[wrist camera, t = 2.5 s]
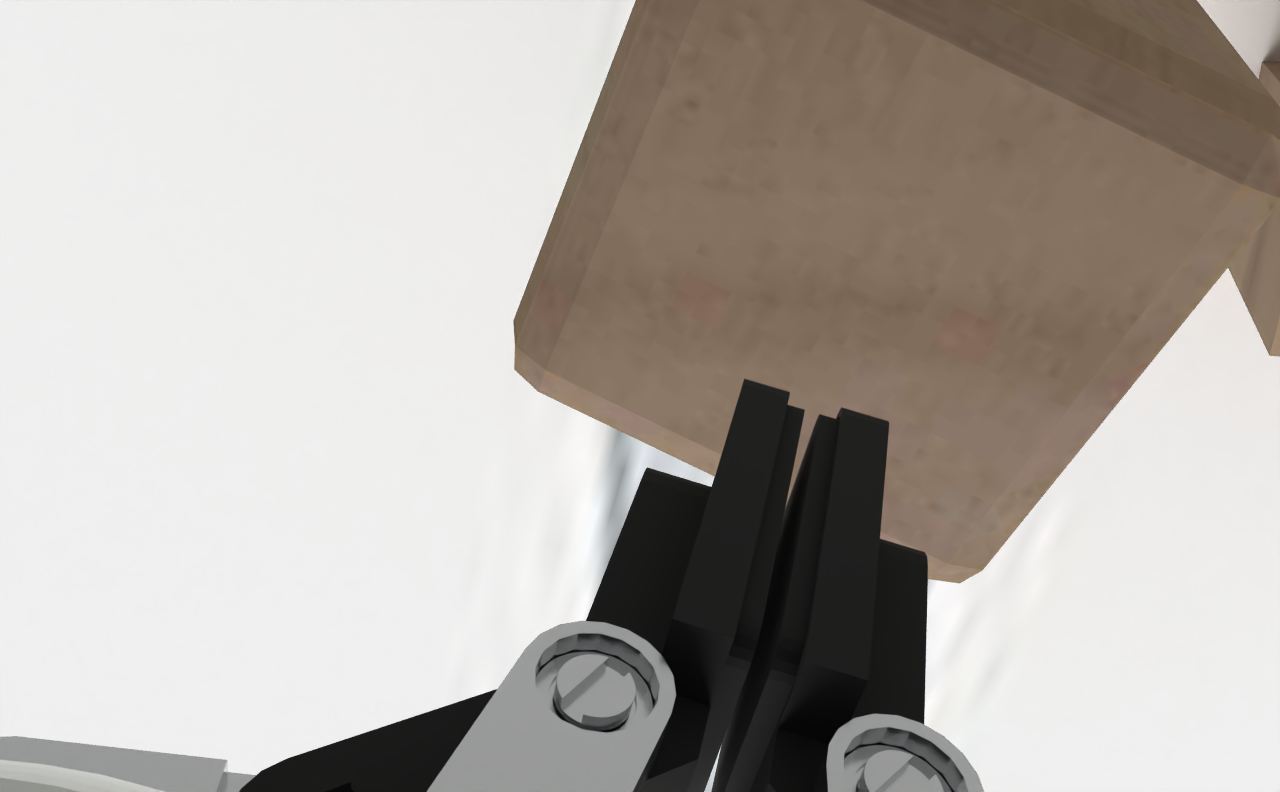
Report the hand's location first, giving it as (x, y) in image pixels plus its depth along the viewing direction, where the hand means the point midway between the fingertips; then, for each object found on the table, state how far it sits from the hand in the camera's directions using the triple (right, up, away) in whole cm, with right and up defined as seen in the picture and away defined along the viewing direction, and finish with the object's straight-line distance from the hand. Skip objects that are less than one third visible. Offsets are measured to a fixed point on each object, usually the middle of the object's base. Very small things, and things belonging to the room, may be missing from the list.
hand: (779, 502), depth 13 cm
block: (+7, +13, +22) cm, 26 cm away
